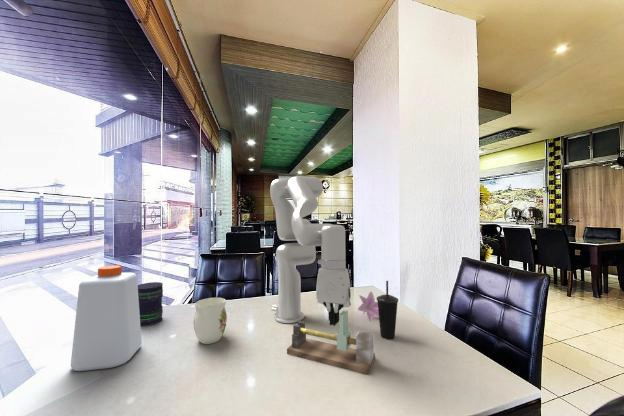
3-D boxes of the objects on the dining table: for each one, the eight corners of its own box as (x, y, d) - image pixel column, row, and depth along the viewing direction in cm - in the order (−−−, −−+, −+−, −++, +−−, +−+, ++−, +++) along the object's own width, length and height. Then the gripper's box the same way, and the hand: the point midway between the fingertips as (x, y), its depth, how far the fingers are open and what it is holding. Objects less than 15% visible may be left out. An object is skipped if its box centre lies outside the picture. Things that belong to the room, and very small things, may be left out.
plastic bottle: (145, 343, 91) (146, 261, 92) (124, 368, 76) (125, 270, 77) (95, 348, 88) (96, 263, 88) (62, 375, 73) (64, 273, 74)
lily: (353, 323, 110) (362, 306, 106) (350, 303, 121) (358, 287, 117) (379, 331, 111) (389, 314, 107) (374, 310, 122) (383, 294, 118)
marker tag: (336, 349, 79) (336, 314, 80) (341, 342, 83) (341, 309, 83) (346, 351, 78) (346, 315, 78) (350, 344, 82) (350, 310, 82)
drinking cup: (400, 342, 91) (399, 284, 91) (377, 340, 92) (376, 283, 93) (397, 332, 98) (396, 278, 99) (376, 331, 100) (375, 277, 100)
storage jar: (129, 324, 107) (129, 287, 107) (151, 315, 116) (152, 281, 116) (145, 328, 103) (146, 289, 104) (168, 318, 112) (168, 283, 113)
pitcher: (232, 326, 104) (232, 291, 104) (220, 350, 86) (220, 307, 86) (203, 327, 103) (204, 292, 103) (185, 351, 85) (185, 308, 86)
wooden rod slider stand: (286, 353, 84) (286, 326, 84) (300, 341, 92) (300, 316, 92) (368, 374, 73) (367, 343, 73) (375, 358, 81) (374, 330, 81)
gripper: (306, 264, 82) (307, 324, 82) (353, 268, 76) (353, 333, 75) (316, 260, 89) (317, 315, 89) (360, 264, 83) (360, 323, 82)
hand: (333, 323), depth 82 cm, fingers closed
